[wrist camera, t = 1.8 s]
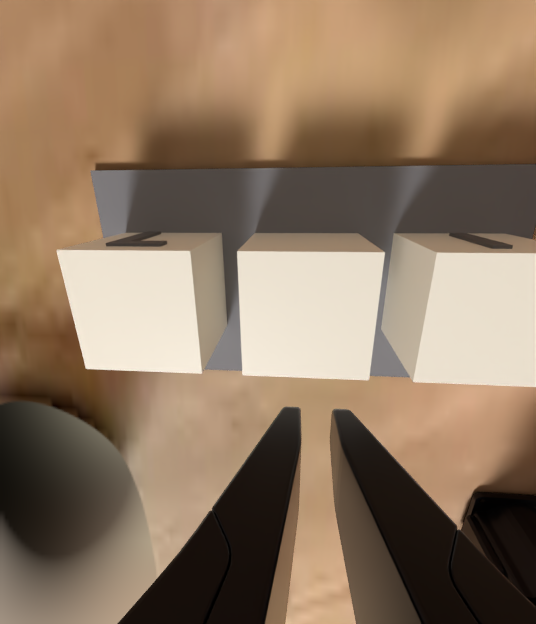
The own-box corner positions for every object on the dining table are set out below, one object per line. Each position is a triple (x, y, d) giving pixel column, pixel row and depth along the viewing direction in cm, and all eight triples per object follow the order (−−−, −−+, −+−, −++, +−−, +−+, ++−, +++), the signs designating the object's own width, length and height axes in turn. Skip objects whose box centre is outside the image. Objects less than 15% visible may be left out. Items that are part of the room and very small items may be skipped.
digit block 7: (221, 230, 19) (189, 247, 13) (227, 324, 21) (202, 373, 15) (125, 230, 19) (55, 246, 14) (140, 322, 22) (86, 368, 16)
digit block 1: (505, 230, 17) (603, 249, 12) (479, 331, 20) (551, 387, 14) (393, 230, 18) (437, 248, 12) (381, 329, 20) (413, 382, 15)
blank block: (358, 233, 18) (385, 252, 13) (349, 328, 20) (368, 380, 15) (255, 232, 19) (237, 251, 13) (256, 325, 21) (242, 375, 15)
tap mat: (548, 164, 16) (553, 163, 16) (487, 377, 21) (491, 380, 21) (94, 171, 19) (90, 170, 18) (131, 363, 23) (128, 366, 23)
